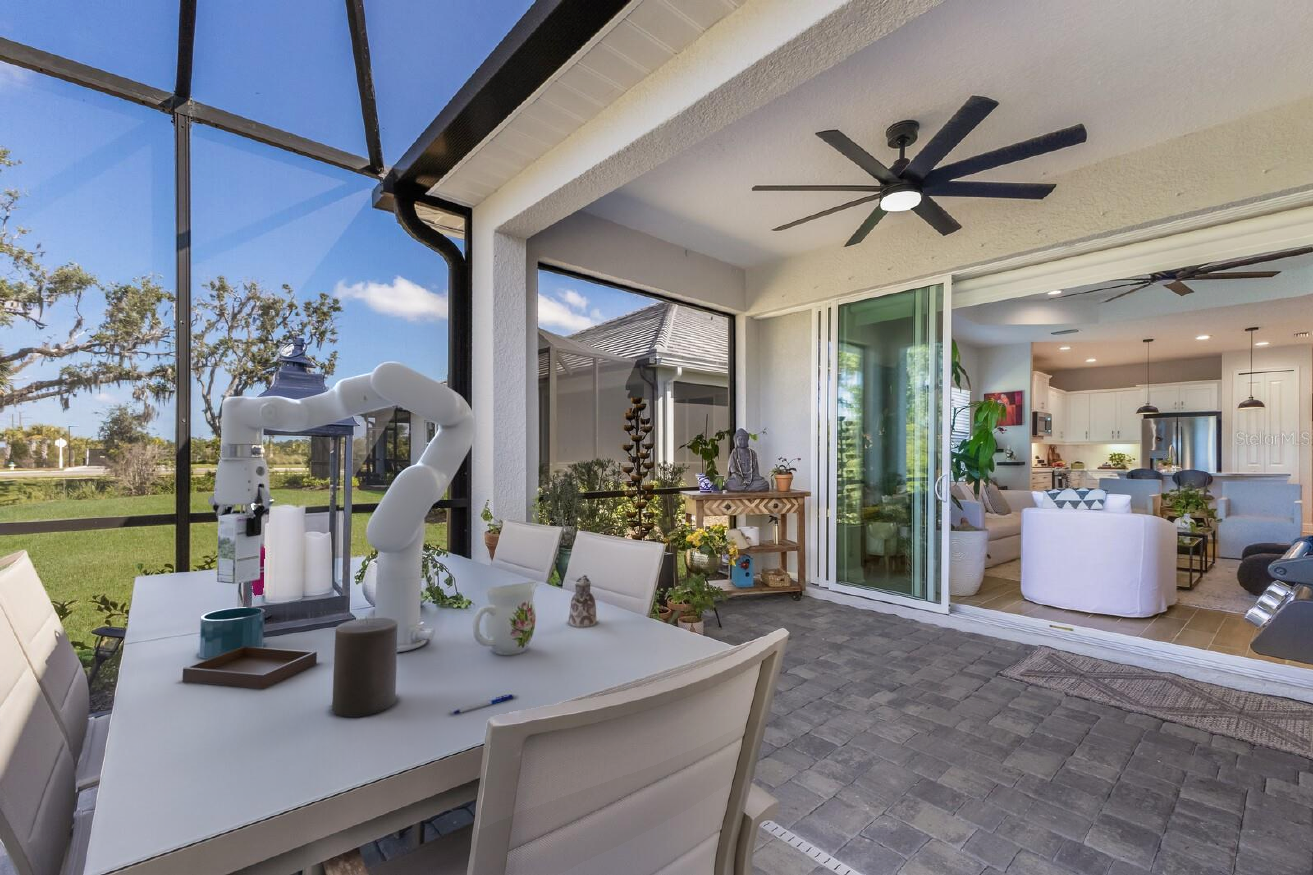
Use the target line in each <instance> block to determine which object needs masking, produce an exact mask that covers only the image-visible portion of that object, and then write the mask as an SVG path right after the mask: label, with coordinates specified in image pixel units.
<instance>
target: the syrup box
mask: <svg viewBox="0 0 1313 875" xmlns="http://www.w3.org/2000/svg"><path fill="white" fill-rule="evenodd" d="M247 518H250V517H249V514H248V513H232V514H227V515H222V516H219V517H217V522H218V523H217V564H216V565H217V569H216V570H217V572H216V576H217V577H216V582H217V583H222V584H231V585H235V584H236V585H237V584H242V583H244V584H245V583H249V581H253V580H258V579H260V541H261V535H258V536H251V537H247V536H246V525H247Z"/></svg>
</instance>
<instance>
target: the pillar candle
mask: <svg viewBox="0 0 1313 875" xmlns="http://www.w3.org/2000/svg"><path fill="white" fill-rule="evenodd" d="M397 625H398V623H397V620H395V619H389V618H375V617H367V616H365V618H357V619H353V620H349V621H345V622H343V623H340V624H338V625H337V626H336V627H335V636H334V657H333V674H332V675H333V677H332V678H333V680H332V702H331V708H332V709H331V710H332V712H333V714H334V715H336V716H339V717H345V718H347V717H352V718H353V717H354V718H358V717H362V718H363V717H367V716H371V715H375V714H377V713H380V712H383V711H385V710H387V709H389V708H391V707H392V706H393V705H394V703H395V702H396V692H397V690H396V687H397V657H398V656H397V655H398V652H397Z"/></svg>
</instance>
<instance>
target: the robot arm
mask: <svg viewBox="0 0 1313 875" xmlns="http://www.w3.org/2000/svg"><path fill="white" fill-rule="evenodd" d="M394 406H398V407H400V408H402V409H404V410H406V411H408V412H411V413H412V414H415V415H416V416H419V417H420V418H423V419H425V420H426V421H428V422H430V423H432V424H436V425H438V426H437V428H438V429H437V432H436V433H435V435H434V437H433V438H432V439H431V440H430V442H429V443H428V445H427V446H426V448H425V450H424V452H423V453H422V454H421V456H420V458H419V459H418V461H417V462H416V464H413V465H410V466H408V467H406V468H405V469H403V470H402V471H401V472H399V474H398V475H397V476H396V477H395V479H394V480H393V481H392V483H391V485H390V486H389V488H388V489H387V491H386V493H385V494H384V496H383V497H382V499H381V501H380V502H379V504H378V505H377V507H376V508H375V510H374V511H373V513H372V515H371V516H370V518H369V520H368V521H367V522H368V523H367V525H366V532H365V533H366V534H365V535H366V539H367V542H368V544H369V545H370V546H371V547H372V548H373V549H375V550H376V551H377V559H376V570H375V571H376V574H375V595H374V596H375V599H374V618H389V619H395V620H397V623H398V625H397V653H402V652H403V653H404V652H407V651H408V652H409V651H411V650H414V649H418V648H420V647H422V646H424V645H425V644H426V643H427V641H428V642H429V641H430V642H431V641H432V640H434V637H435V629H433V628H425V621H421V606H422V605H421V600H422V599H421V598H422V574H423V555H424V546H425V538H426V522H425V518H426V516H427V515H428V514H429V512H430V510H431V508H432V507H433V505H434V504H436V503H438V502H439V501H441V499H442V498H443V497H444V495H445V493H446V492H447V489H448V488H449V485H450V484H451V482H452V481H453V479H454V477H455V475H456V474H457V473H458V470H459V469H460V467H461V465H462V463H463V462H464V460H465V458H466V456H467V455H468V454H469V451H470V450H471V447H472V445H473V443H474V440H475V436H476V433H477V432H476V431H477V430H476V429H477V424H476V418H475V414H474V412H473V410H472V408H471V407H470V404H468V402H467V401H466V399H465V398H464V397H463V396H462V395H461V394H460V393H458V392H456V391H455V390H454V389H452V388H451V387H448V386H446V385H445V384H442V383H440V382H438V381H437V380H435V379H432V378H430V377H428V376H426V375H424V374H422V373H420V372H418V371H416V370H414V369H412V368H410V367H409V366H408V365H405V364H404V363H401V362H398V361H385V362H383V363H380V364H378V365H377V366H376V367H375V368H374V369H373V371H372V372H369V373H363V374H360V375H356V376H351V377H346V378H342V379H340V380H339V381H338V382H336V384H334V387H332V388H331V389H330V390H327V391H325V392H322V393H319V394H315V395H312V396H308V397H303V398H298V399H294V398H289V397H284V396H280V395H270V396H269V395H268V396H261V397H260V396H259V397H250V396H229V397H225V398H224V399H223V401H222V404H221V426H220V427H221V428H220V429H221V430H220V432H221V434H220V459H219V460H218V463H217V467H216V472H215V480H214V492H213V493H212V494H211V496H210V497H208V499H207V502H208V504H209V505H210V506H211V508H212V511H214V512H215V515H216V518H218V517H219V516H222V515H227V514H234V513H233V512H234V510H235V508H236V506H245V508H246V511H247V514H249V517H250V518H247V525H246V536H247V537H251V536H258V535H260V536H261V535H262V520H263V519H262V518H263V517H265V514H266V512H267V511H268V510H269V508H270V507H271V506H272V505H273V504H274V503H275V499H274V498H273V496H271V493H270V492H271V491H270V475H269V468H268V463H267V460H266V459H264V458H263V457H264V454H266V449H265V448H264V430H271V431H277V432H289V433H290V432H291V433H296V432H297V433H298V432H303V431H308V430H312V429H316V428H321V427H324V426H327V425H331V424H334V423H337V422H341V421H343V420H347V419H350V418H352V417H355V416H358V415H362V414H367V413H370V412H374V411H378V410H382V409H386V408H391V407H394Z"/></svg>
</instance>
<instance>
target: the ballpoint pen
mask: <svg viewBox="0 0 1313 875" xmlns="http://www.w3.org/2000/svg"><path fill="white" fill-rule="evenodd" d="M512 699H514V696H513V694H504V695H500V696H497V697H495V699H492V700H488V701H485V702H482V703H478V704H475V705H471V706H465V707H463V708H459V709H457V710H455V711H453V714H454V715H456V714H461V713H465V712H469V711H472V710H476V709H479V708H484V707H487V706H490V705H494V704H495V705H496V704H498V703H502V702H506V701H510V700H512Z"/></svg>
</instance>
